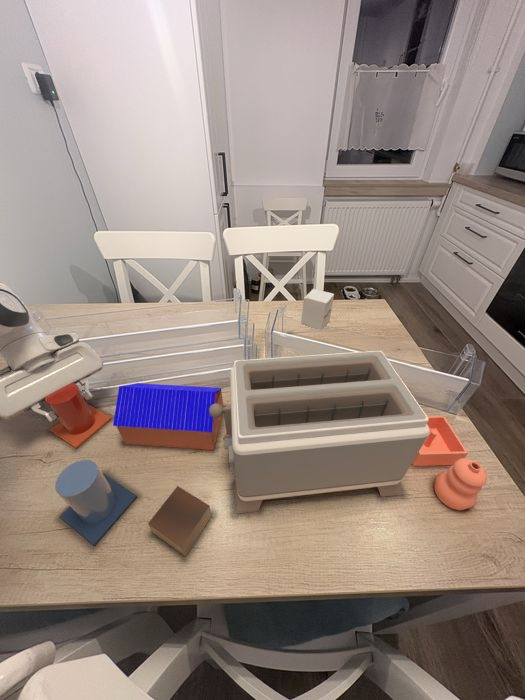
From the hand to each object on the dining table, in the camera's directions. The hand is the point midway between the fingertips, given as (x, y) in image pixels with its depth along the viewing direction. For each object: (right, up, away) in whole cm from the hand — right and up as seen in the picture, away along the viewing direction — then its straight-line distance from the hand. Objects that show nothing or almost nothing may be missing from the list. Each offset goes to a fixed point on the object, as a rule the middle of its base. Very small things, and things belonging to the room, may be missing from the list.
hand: (72, 409), depth 62 cm
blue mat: (+11, -16, -10) cm, 22 cm away
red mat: (0, -4, +4) cm, 6 cm away
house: (+21, -5, +4) cm, 22 cm away
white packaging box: (+58, +19, +35) cm, 70 cm away
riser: (+27, -17, -12) cm, 34 cm away
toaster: (+49, -10, -2) cm, 50 cm away
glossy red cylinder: (-1, -4, +4) cm, 5 cm away
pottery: (+76, -11, -3) cm, 77 cm away
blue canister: (+11, -15, -10) cm, 22 cm away
